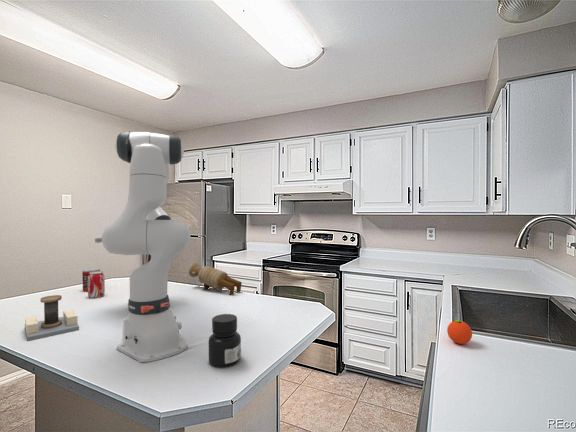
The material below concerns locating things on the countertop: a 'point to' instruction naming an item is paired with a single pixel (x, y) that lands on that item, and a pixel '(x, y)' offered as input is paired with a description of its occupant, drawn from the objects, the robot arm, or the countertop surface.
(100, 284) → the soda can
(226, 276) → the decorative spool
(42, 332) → the terminal board
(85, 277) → the red printed box
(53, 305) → the bobbin
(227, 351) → the ink bottle
